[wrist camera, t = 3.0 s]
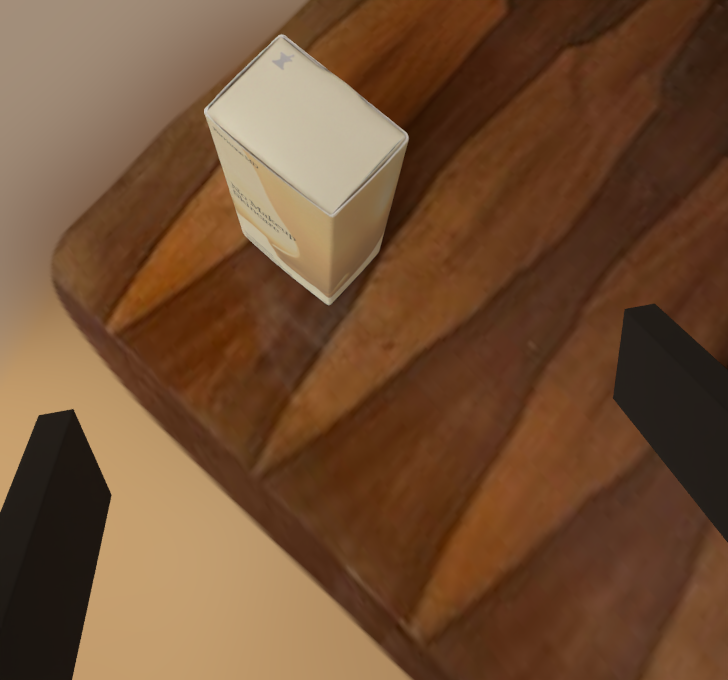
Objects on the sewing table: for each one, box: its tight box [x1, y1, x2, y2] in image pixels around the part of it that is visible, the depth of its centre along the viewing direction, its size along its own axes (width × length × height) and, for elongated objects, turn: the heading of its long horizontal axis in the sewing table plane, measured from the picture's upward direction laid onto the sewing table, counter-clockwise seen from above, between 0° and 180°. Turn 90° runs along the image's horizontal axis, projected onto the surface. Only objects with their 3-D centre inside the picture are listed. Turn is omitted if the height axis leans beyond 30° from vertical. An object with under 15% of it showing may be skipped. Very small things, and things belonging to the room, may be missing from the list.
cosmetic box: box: [204, 34, 409, 305], centre depth 29 cm, size 6×4×12 cm
